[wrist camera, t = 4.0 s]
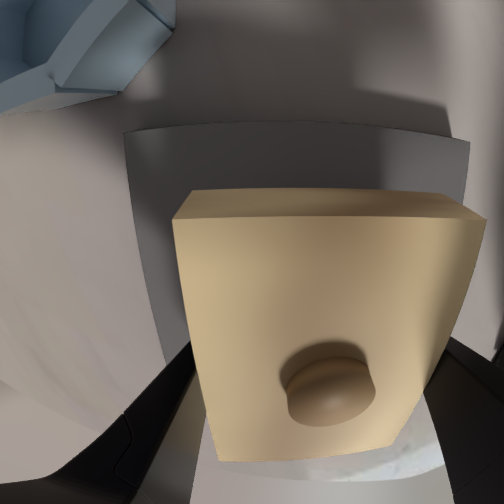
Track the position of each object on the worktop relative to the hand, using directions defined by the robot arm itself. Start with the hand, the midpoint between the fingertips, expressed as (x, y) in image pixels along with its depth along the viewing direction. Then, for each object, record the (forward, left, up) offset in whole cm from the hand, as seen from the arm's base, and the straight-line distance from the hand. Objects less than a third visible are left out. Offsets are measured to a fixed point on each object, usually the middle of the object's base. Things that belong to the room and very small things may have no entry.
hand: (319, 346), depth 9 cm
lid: (0, 0, 0) cm, 0 cm away
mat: (0, 0, -4) cm, 4 cm away
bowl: (+8, -11, -4) cm, 14 cm away
